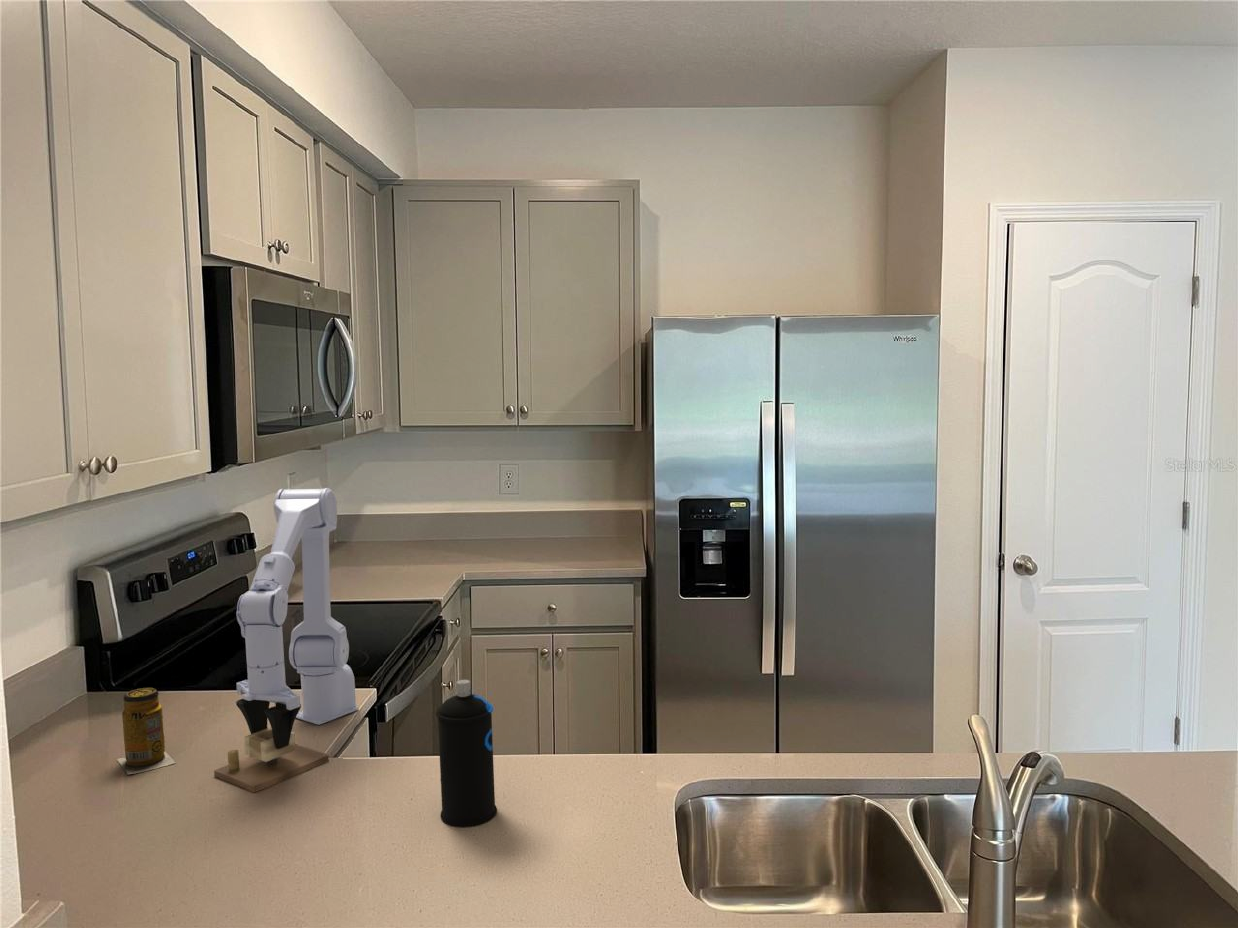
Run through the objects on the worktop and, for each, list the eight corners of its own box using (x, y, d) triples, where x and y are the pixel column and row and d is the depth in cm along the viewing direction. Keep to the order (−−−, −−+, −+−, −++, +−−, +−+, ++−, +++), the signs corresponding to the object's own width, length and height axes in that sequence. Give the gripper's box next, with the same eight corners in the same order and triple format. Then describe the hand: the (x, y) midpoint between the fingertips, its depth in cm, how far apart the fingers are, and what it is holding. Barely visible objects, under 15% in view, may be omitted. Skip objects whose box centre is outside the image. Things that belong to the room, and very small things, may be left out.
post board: (288, 746, 164) (286, 719, 163) (328, 760, 158) (327, 732, 157) (214, 776, 153) (212, 746, 152) (254, 792, 146) (252, 761, 146)
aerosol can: (450, 832, 132) (444, 695, 130) (433, 809, 139) (427, 678, 137) (505, 818, 136) (500, 684, 134) (486, 796, 143) (481, 669, 141)
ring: (275, 742, 159) (274, 725, 158) (295, 750, 155) (294, 732, 155) (245, 754, 154) (244, 736, 154) (265, 761, 151) (265, 743, 151)
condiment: (162, 748, 165) (157, 682, 163) (175, 763, 158) (170, 694, 157) (116, 760, 160) (111, 692, 159) (128, 776, 153) (122, 705, 152)
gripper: (217, 662, 154) (223, 741, 156) (271, 677, 146) (276, 760, 147) (255, 650, 160) (261, 727, 161) (309, 664, 152) (314, 745, 153)
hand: (270, 742), depth 155 cm, fingers closed on ring, 6 cm apart
